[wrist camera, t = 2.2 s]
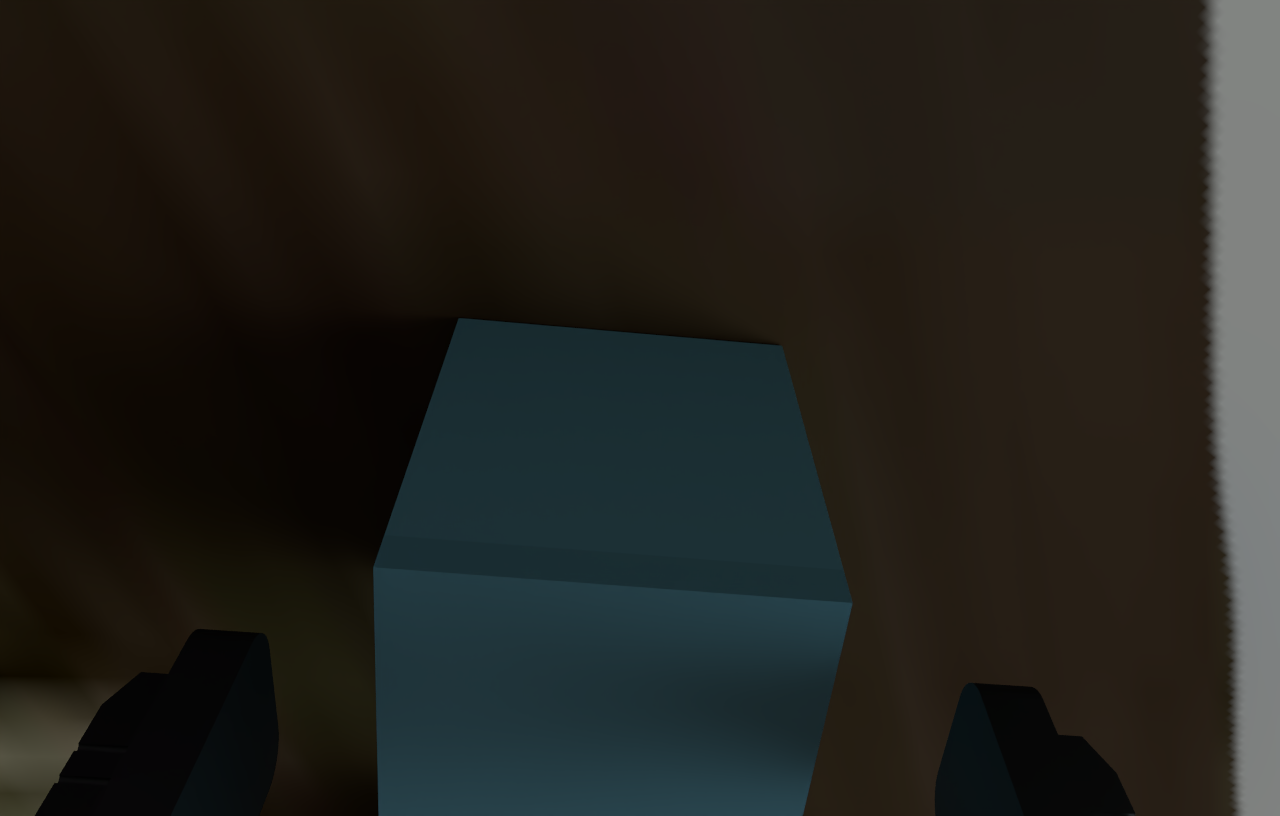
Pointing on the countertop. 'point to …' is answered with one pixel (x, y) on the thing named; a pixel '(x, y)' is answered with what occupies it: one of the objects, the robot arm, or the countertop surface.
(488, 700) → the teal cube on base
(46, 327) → the countertop surface
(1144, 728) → the countertop surface
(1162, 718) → the countertop surface
